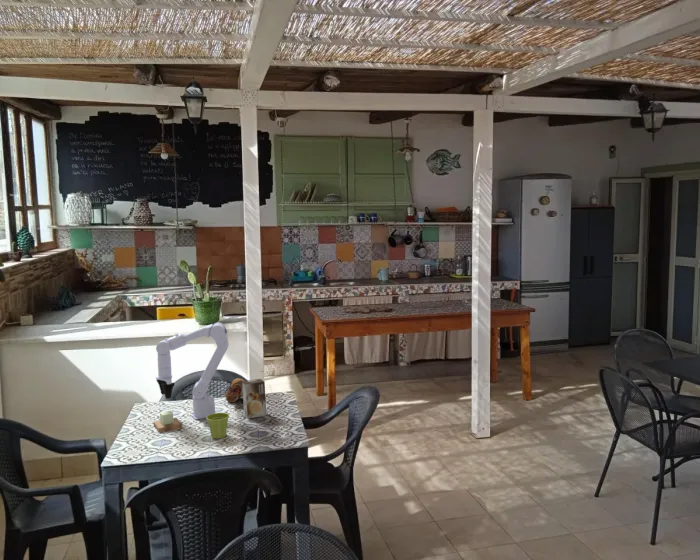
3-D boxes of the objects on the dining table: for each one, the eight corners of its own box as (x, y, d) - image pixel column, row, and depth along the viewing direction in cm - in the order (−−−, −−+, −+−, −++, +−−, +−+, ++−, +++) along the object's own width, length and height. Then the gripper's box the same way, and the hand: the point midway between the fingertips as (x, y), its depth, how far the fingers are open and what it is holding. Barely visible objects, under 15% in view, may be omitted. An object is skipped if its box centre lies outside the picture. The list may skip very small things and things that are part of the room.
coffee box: (262, 411, 287) (261, 378, 285) (266, 415, 281) (265, 381, 279) (243, 414, 283) (242, 380, 281) (247, 418, 277) (245, 384, 275)
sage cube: (170, 420, 271) (169, 410, 271) (173, 423, 268) (172, 413, 267) (160, 422, 269) (159, 412, 268) (163, 425, 265) (162, 415, 265)
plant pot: (210, 442, 249) (209, 421, 248) (204, 435, 258) (203, 415, 257) (233, 437, 254) (232, 417, 253) (226, 431, 262) (225, 411, 261)
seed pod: (215, 394, 294) (245, 382, 295) (215, 378, 309) (243, 368, 310) (225, 416, 299) (254, 404, 300) (224, 400, 313) (252, 389, 315)
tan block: (176, 423, 275) (176, 417, 275) (182, 429, 267) (181, 424, 266) (153, 427, 270) (153, 421, 270) (158, 433, 262) (158, 428, 261)
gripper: (151, 364, 282) (153, 393, 283) (159, 371, 270) (161, 401, 271) (167, 362, 286) (168, 391, 287) (175, 369, 273) (177, 398, 275)
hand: (166, 396), depth 279 cm, fingers open, 7 cm apart
